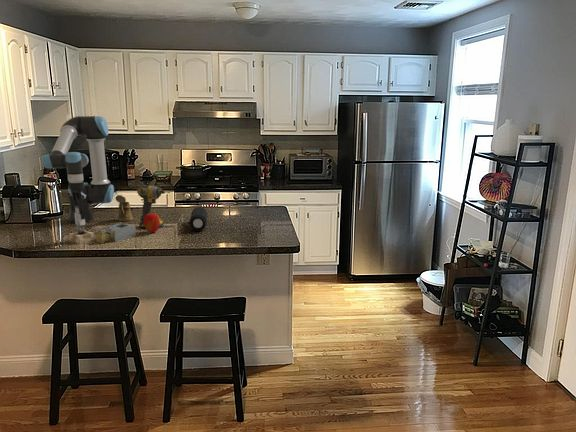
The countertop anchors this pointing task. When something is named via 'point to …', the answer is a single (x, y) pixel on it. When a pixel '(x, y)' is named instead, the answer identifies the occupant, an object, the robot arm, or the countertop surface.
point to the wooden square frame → (81, 237)
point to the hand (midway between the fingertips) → (80, 224)
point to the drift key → (103, 237)
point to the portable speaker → (198, 219)
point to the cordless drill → (149, 200)
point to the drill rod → (79, 227)
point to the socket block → (120, 231)
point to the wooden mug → (124, 209)
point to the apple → (151, 222)
